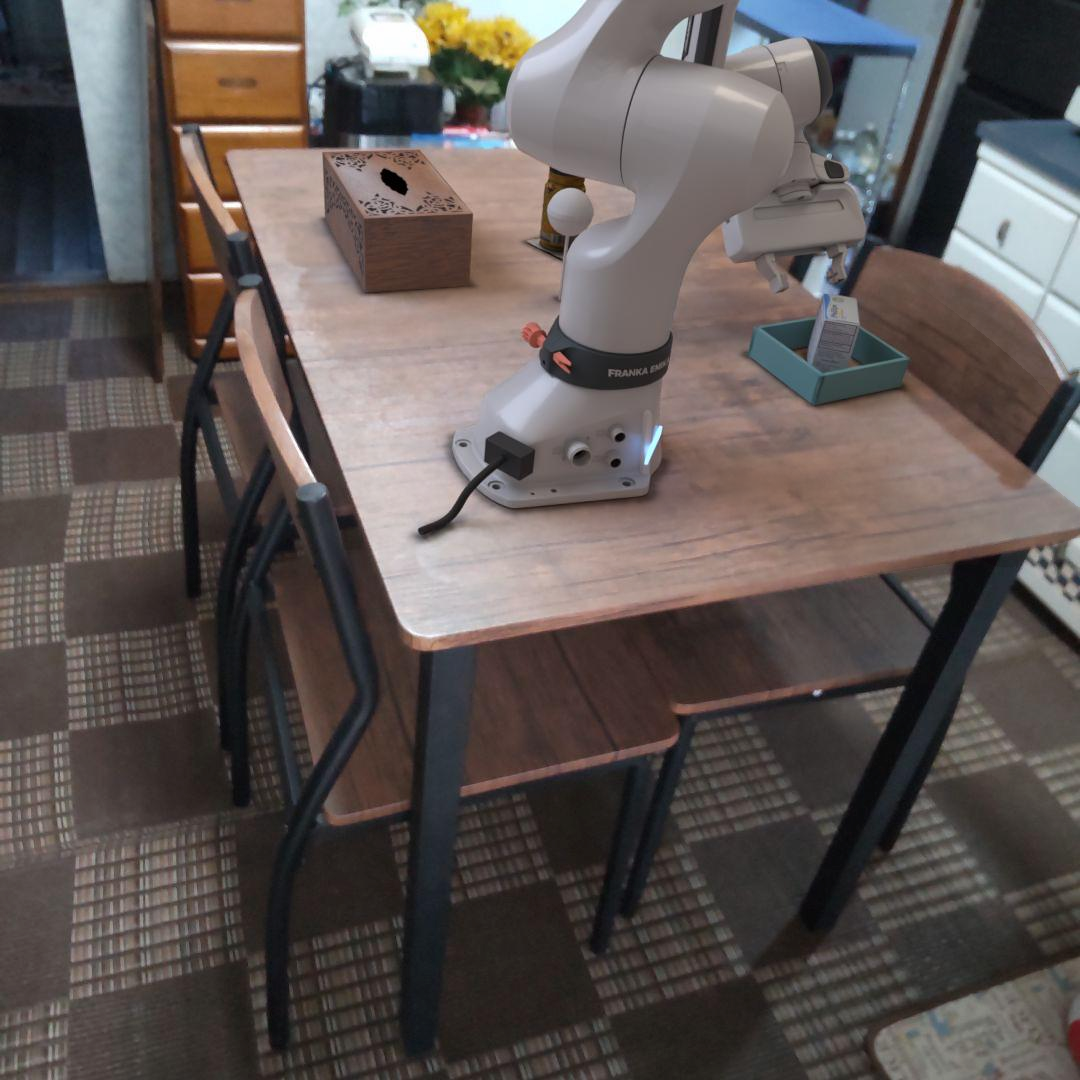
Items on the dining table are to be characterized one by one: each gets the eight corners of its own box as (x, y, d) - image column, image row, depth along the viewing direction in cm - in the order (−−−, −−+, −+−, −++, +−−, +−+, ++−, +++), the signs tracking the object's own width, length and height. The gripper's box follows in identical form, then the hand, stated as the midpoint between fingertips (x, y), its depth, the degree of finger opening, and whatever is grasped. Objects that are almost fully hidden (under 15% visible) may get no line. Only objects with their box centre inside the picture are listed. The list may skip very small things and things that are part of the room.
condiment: (560, 233, 154) (568, 154, 147) (599, 252, 150) (609, 171, 142) (525, 242, 150) (532, 161, 143) (564, 262, 146) (573, 180, 138)
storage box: (813, 405, 119) (822, 376, 116) (747, 355, 128) (754, 326, 125) (900, 387, 125) (910, 358, 122) (831, 339, 134) (839, 312, 131)
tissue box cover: (325, 219, 150) (322, 151, 144) (418, 215, 155) (419, 149, 148) (365, 292, 131) (364, 218, 125) (469, 285, 136) (473, 213, 130)
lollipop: (560, 286, 139) (573, 178, 130) (591, 302, 136) (606, 192, 127) (528, 296, 135) (539, 186, 126) (559, 313, 132) (572, 201, 123)
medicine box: (841, 388, 123) (862, 324, 118) (805, 382, 123) (824, 318, 118) (839, 360, 129) (858, 297, 124) (805, 353, 130) (822, 291, 124)
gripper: (728, 175, 118) (759, 287, 118) (857, 164, 127) (887, 268, 126) (700, 199, 124) (729, 305, 124) (825, 187, 133) (853, 286, 132)
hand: (810, 286), depth 125 cm, fingers open, 8 cm apart
